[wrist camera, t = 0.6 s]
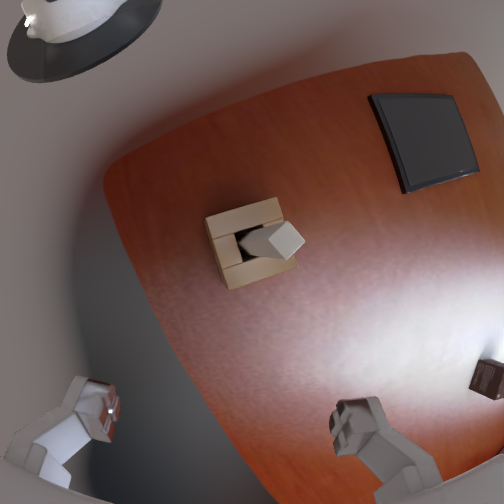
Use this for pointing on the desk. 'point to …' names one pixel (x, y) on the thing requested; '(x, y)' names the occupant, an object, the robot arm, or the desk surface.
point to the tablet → (424, 138)
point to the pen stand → (227, 250)
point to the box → (489, 379)
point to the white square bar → (271, 241)
